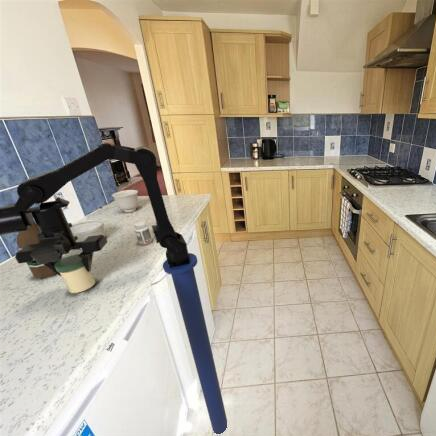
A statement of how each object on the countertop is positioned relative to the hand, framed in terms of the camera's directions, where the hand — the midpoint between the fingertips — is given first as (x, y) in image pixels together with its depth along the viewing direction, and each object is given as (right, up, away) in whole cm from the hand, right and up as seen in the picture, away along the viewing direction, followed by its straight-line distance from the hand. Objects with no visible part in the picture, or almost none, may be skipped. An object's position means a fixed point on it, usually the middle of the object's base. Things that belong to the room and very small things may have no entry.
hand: (76, 273), depth 71 cm
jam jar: (0, -4, +2) cm, 5 cm away
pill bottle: (+3, +6, +28) cm, 29 cm away
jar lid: (0, +4, -2) cm, 4 cm away
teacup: (-27, +21, +64) cm, 72 cm away
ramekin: (-21, +6, +30) cm, 37 cm away
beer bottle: (-18, -2, +10) cm, 21 cm away
